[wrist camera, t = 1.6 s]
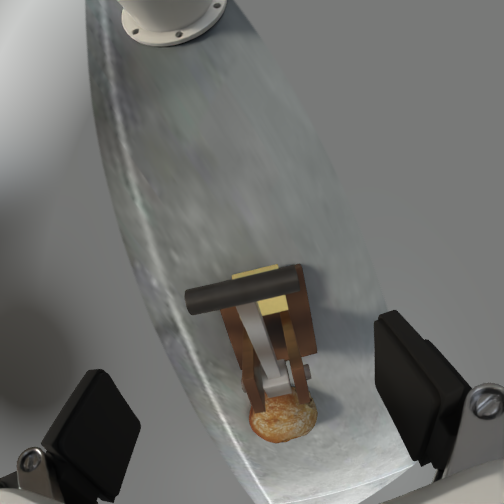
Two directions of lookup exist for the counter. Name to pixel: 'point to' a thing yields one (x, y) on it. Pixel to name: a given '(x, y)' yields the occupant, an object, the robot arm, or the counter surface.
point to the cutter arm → (251, 315)
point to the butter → (268, 304)
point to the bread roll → (284, 418)
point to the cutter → (276, 344)
